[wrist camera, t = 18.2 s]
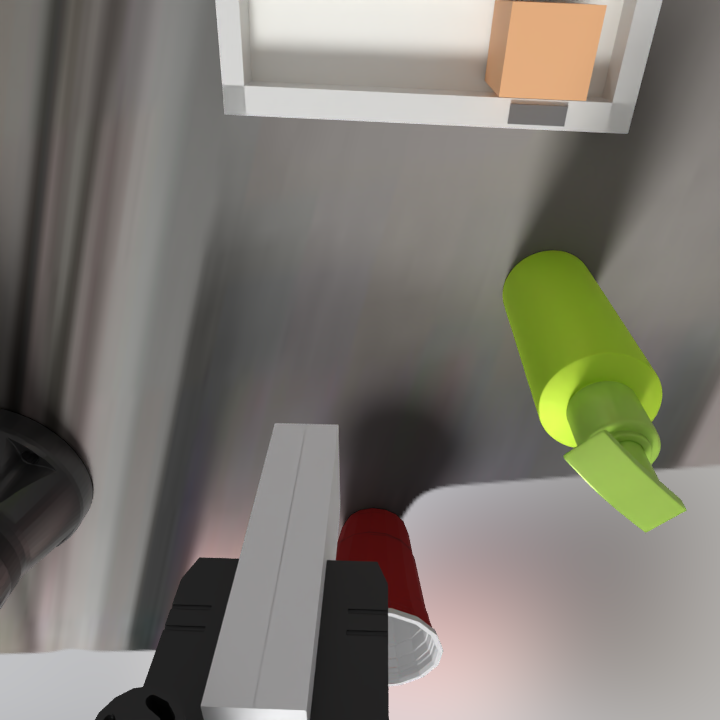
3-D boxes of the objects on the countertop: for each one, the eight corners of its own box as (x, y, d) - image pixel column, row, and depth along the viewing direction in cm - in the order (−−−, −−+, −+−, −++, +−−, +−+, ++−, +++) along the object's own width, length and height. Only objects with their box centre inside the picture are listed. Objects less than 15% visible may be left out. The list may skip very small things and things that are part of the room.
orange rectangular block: (484, 80, 33) (498, 96, 28) (495, -1, 31) (512, 1, 26) (557, 84, 33) (586, 101, 27) (573, 3, 30) (606, 5, 25)
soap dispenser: (543, 221, 38) (655, 407, 21) (609, 290, 40) (758, 509, 23) (474, 282, 40) (523, 492, 23) (539, 343, 43) (627, 577, 26)
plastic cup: (352, 583, 58) (340, 709, 48) (294, 510, 53) (268, 633, 43) (455, 552, 55) (467, 681, 44) (404, 472, 50) (403, 595, 40)
